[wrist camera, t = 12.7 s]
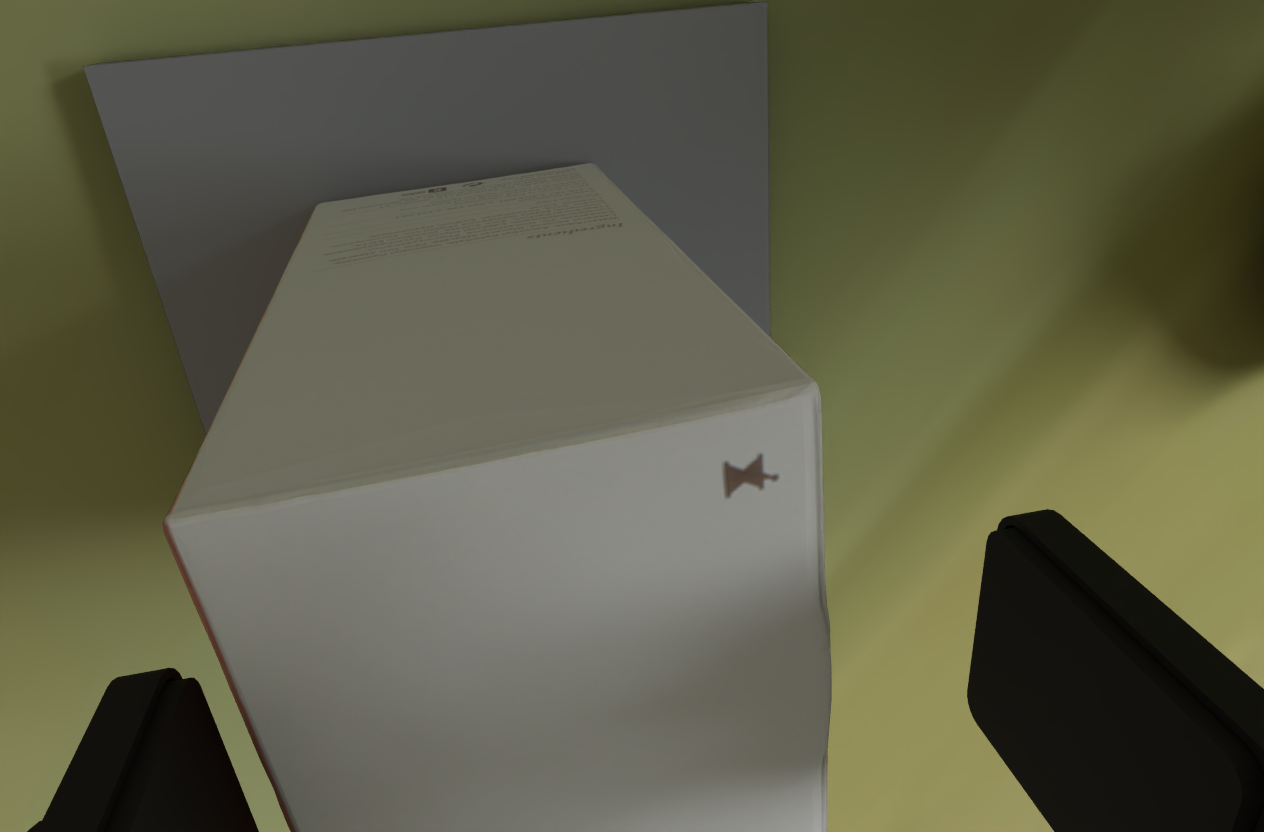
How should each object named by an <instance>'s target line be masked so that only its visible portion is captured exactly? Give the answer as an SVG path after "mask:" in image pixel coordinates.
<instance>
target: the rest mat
mask: <svg viewBox="0 0 1264 832" xmlns="http://www.w3.org/2000/svg"><path fill="white" fill-rule="evenodd" d="M83 68H84V71H85V74H86V77H87V80H88V83H89V86H90V89H91V92H92V95H93V98H94V101H95V104H96V107H97V110H98V113H99V116H100V119H101V122H102V125H103V128H104V131H105V134H106V137H107V140H108V143H109V146H110V149H111V152H112V155H113V158H114V161H115V164H116V167H117V170H118V172H119V175H120V178H121V181H122V184H123V187H124V190H125V193H126V196H127V199H128V202H129V205H130V208H131V211H132V214H133V217H134V220H135V223H136V226H137V229H138V232H139V235H140V238H141V241H142V244H143V247H144V250H145V253H146V256H147V259H148V262H149V265H150V268H151V271H152V274H153V277H154V280H155V283H156V286H157V289H158V292H159V295H160V298H161V301H162V304H163V307H164V310H165V313H166V316H167V319H168V322H169V325H170V328H171V331H172V334H173V337H174V340H175V343H176V346H177V349H178V352H179V355H180V358H181V361H182V364H183V367H184V370H185V373H186V376H187V379H188V382H189V385H190V388H191V391H192V394H193V397H194V400H195V403H196V406H197V409H198V412H199V415H200V418H201V421H202V424H203V427H204V430H205V433H206V435H207V432H208V430H209V428H210V426H211V424H212V422H213V420H214V418H215V416H216V414H217V412H218V410H219V408H220V406H221V404H222V402H223V400H224V397H225V395H226V393H227V391H228V389H229V387H230V384H231V382H232V380H233V378H234V376H235V373H236V371H237V369H238V367H239V365H240V363H241V361H242V359H243V357H244V354H245V352H246V350H247V348H248V346H249V344H250V342H251V340H252V338H253V336H254V334H255V331H256V329H257V327H258V325H259V323H260V321H261V318H262V316H263V315H264V313H265V311H266V309H267V307H268V305H269V303H270V301H271V299H272V297H273V295H274V292H275V290H276V288H277V286H278V284H279V282H280V280H281V278H282V276H283V274H284V271H285V269H286V267H287V265H288V263H289V261H290V259H291V257H292V255H293V253H294V251H295V249H296V247H297V245H298V242H299V240H300V238H301V236H302V234H303V232H304V230H305V227H306V225H307V223H308V221H309V219H310V217H311V215H312V213H313V211H314V209H315V207H316V206H317V205H318V204H320V203H324V202H331V201H338V200H345V199H352V198H359V197H365V196H372V195H378V194H386V193H393V192H400V191H408V190H415V189H422V188H429V187H435V186H442V185H449V184H456V183H463V182H471V181H477V180H483V179H490V178H496V177H503V176H509V175H515V174H522V173H530V172H536V171H543V170H549V169H554V168H562V167H569V166H574V165H581V164H587V163H593V164H595V165H596V166H597V167H598V168H599V169H600V170H601V171H602V172H603V173H604V174H605V175H606V176H607V177H608V178H609V179H610V180H611V181H612V182H613V183H614V184H615V185H616V186H617V187H618V188H619V189H620V190H621V191H622V192H623V193H624V194H625V195H626V196H627V197H628V198H629V199H630V200H631V201H632V202H633V203H634V204H635V205H636V206H637V207H638V208H639V209H640V210H641V211H642V212H643V213H644V214H645V215H646V216H647V217H648V218H649V219H650V220H651V221H652V222H653V223H654V224H655V225H656V226H657V227H658V228H659V229H660V230H661V231H662V232H663V233H664V234H665V235H666V236H667V237H669V238H670V239H671V240H672V241H673V242H674V243H675V244H676V245H677V246H678V247H679V248H680V249H681V250H682V251H683V252H684V253H685V254H686V255H687V256H688V257H689V258H690V259H691V260H692V261H693V262H694V263H695V264H696V265H697V266H698V267H699V268H700V269H701V270H702V271H703V272H704V273H705V274H706V275H707V276H708V277H709V278H710V279H711V280H712V281H713V282H714V283H715V284H716V285H717V286H718V287H719V288H720V289H721V290H722V291H723V292H724V293H725V294H726V295H727V296H729V297H730V298H731V299H732V300H733V301H734V302H735V303H736V304H737V305H738V306H739V307H740V308H741V309H742V310H743V311H744V312H745V313H746V314H747V315H748V316H749V317H750V318H751V319H752V320H753V321H754V322H755V323H756V324H757V325H758V326H759V327H760V328H761V329H762V330H763V331H764V332H765V333H766V334H767V335H768V336H769V337H770V237H769V122H768V7H767V2H748V3H738V4H727V5H716V6H706V7H695V8H684V9H673V10H663V11H652V12H641V13H631V14H620V15H609V16H599V17H588V18H577V19H566V20H556V21H545V22H534V23H524V24H513V25H502V26H492V27H481V28H470V29H459V30H449V31H438V32H427V33H417V34H406V35H395V36H384V37H374V38H363V39H352V40H342V41H331V42H320V43H310V44H299V45H288V46H277V47H267V48H256V49H245V50H235V51H224V52H213V53H203V54H192V55H181V56H170V57H160V58H149V59H138V60H128V61H117V62H106V63H98V64H92V65H87V66H83Z"/></svg>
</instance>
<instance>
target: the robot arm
mask: <svg viewBox="0 0 1264 832" xmlns="http://www.w3.org/2000/svg"><path fill="white" fill-rule="evenodd" d="M967 698H968V704H969V708H970V711H971V713H972V716H973V718H974V720H975V721H976V723H977V725H978V726H979V727H980V729H981V730H982V732H983V733H984V734H985V736H986V737H987V739H988V740H989V741H990V743H991V744H992V746H993V747H994V748H995V750H996V751H997V753H998V754H999V755H1000V757H1001V758H1002V759H1003V761H1004V762H1005V764H1006V765H1007V766H1008V768H1009V769H1010V771H1011V772H1012V773H1013V775H1014V776H1015V778H1016V779H1017V780H1018V782H1019V783H1020V784H1021V786H1022V787H1023V789H1024V790H1025V791H1026V793H1027V794H1028V796H1029V797H1030V798H1031V800H1032V801H1033V803H1034V804H1035V805H1036V807H1037V808H1038V810H1039V811H1040V812H1041V814H1042V815H1043V816H1044V818H1045V819H1046V821H1047V822H1048V823H1049V825H1050V826H1051V828H1052V829H1053V830H1054V832H1264V689H1263V688H1262V687H1261V686H1259V685H1258V684H1257V683H1256V682H1255V681H1254V680H1252V679H1251V678H1250V677H1249V676H1248V675H1247V674H1245V673H1244V672H1243V671H1242V670H1241V669H1240V668H1238V667H1237V666H1236V665H1235V664H1234V663H1233V662H1232V661H1230V660H1229V659H1228V658H1227V657H1226V656H1225V655H1223V654H1222V653H1221V652H1220V651H1219V650H1218V649H1216V648H1215V647H1214V646H1213V645H1212V644H1211V643H1209V642H1208V641H1207V640H1206V639H1205V638H1204V637H1202V636H1201V635H1200V634H1199V633H1198V632H1197V631H1195V630H1194V629H1193V628H1192V627H1191V626H1190V625H1188V624H1187V623H1186V622H1185V621H1184V620H1183V619H1181V618H1180V617H1179V616H1178V615H1177V614H1176V613H1174V612H1173V611H1172V610H1171V609H1170V608H1169V607H1167V606H1166V605H1165V604H1164V603H1163V602H1162V601H1160V600H1159V599H1158V598H1157V597H1156V596H1155V595H1153V594H1152V593H1151V592H1150V591H1149V590H1148V589H1147V588H1145V587H1144V586H1143V585H1142V584H1141V583H1140V582H1138V581H1137V580H1136V579H1135V578H1134V577H1133V576H1131V575H1130V574H1129V573H1128V572H1127V571H1126V570H1124V569H1123V568H1122V567H1121V566H1120V565H1119V564H1117V563H1116V562H1115V561H1114V560H1113V559H1112V558H1110V557H1109V556H1108V555H1107V554H1106V553H1105V552H1103V551H1102V550H1101V549H1100V548H1099V547H1098V546H1096V545H1095V544H1094V543H1093V542H1092V541H1091V540H1089V539H1088V538H1087V537H1086V536H1085V535H1084V534H1082V533H1081V532H1080V531H1079V530H1078V529H1077V528H1075V527H1074V526H1073V525H1072V524H1071V523H1070V522H1069V521H1067V520H1066V519H1065V518H1064V517H1063V516H1062V515H1060V514H1059V513H1057V512H1055V511H1054V510H1048V509H1046V510H1041V511H1035V512H1030V513H1024V514H1019V515H1013V516H1008V517H1005V518H1003V519H1002V520H1001V522H1000V523H999V525H998V529H997V531H993V532H991V533H990V535H989V536H988V539H987V544H986V551H985V559H984V567H983V574H982V582H981V590H980V597H979V605H978V613H977V621H976V628H975V636H974V644H973V651H972V659H971V667H970V674H969V682H968V690H967ZM28 832H259V831H258V828H257V826H256V823H255V821H254V818H253V816H252V813H251V811H250V808H249V806H248V803H247V801H246V798H245V796H244V793H243V791H242V788H241V786H240V783H239V781H238V778H237V776H236V773H235V771H234V768H233V766H232V763H231V761H230V758H229V756H228V753H227V751H226V748H225V746H224V743H223V741H222V738H221V736H220V733H219V731H218V728H217V726H216V723H215V721H214V718H213V716H212V713H211V711H210V708H209V706H208V703H207V701H206V698H205V696H204V693H203V691H202V688H201V686H200V684H199V682H198V681H197V680H196V679H195V678H186V679H182V677H181V675H180V673H179V672H178V671H177V670H175V669H174V668H166V669H161V670H155V671H150V672H144V673H139V674H133V675H127V676H122V677H117V678H116V679H114V680H112V681H111V683H110V684H109V686H108V687H107V689H106V691H105V693H104V695H103V697H102V699H101V701H100V703H99V705H98V707H97V710H96V712H95V714H94V716H93V718H92V720H91V722H90V724H89V726H88V728H87V730H86V732H85V734H84V736H83V738H82V740H81V742H80V744H79V746H78V748H77V750H76V753H75V755H74V757H73V759H72V761H71V763H70V765H69V767H68V769H67V771H66V773H65V775H64V777H63V779H62V781H61V783H60V785H59V787H58V789H57V791H56V794H55V796H54V798H53V800H52V802H51V804H50V806H49V808H48V810H47V812H46V814H45V816H44V818H43V820H42V821H39V822H38V823H37V824H36V825H34V826H33V827H32V828H31V829H29V830H28Z"/></svg>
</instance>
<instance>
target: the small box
mask: <svg viewBox="0 0 1264 832" xmlns="http://www.w3.org/2000/svg"><path fill="white" fill-rule="evenodd" d="M162 524H163V530H164V534H165V536H166V539H167V541H168V543H169V546H170V548H171V550H172V553H173V555H174V557H175V560H176V562H177V565H178V567H179V569H180V572H181V574H182V576H183V579H184V581H185V583H186V586H187V588H188V591H189V593H190V595H191V598H192V600H193V602H194V605H195V607H196V609H197V612H198V614H199V616H200V618H201V621H202V623H203V625H204V627H205V630H206V632H207V634H208V637H209V639H210V641H211V643H212V646H213V648H214V650H215V653H216V655H217V657H218V660H219V662H220V665H221V667H222V669H223V672H224V674H225V677H226V679H227V682H228V684H229V687H230V689H231V692H232V694H233V696H234V699H235V701H236V703H237V706H238V708H239V710H240V713H241V715H242V717H243V720H244V722H245V725H246V727H247V729H248V732H249V734H250V737H251V739H252V741H253V744H254V746H255V748H256V751H257V753H258V756H259V758H260V760H261V763H262V765H263V767H264V769H265V771H266V773H267V776H268V778H269V780H270V782H271V784H272V786H273V788H274V791H275V794H276V796H277V799H278V802H279V805H280V807H281V810H282V812H283V815H284V817H285V820H286V822H287V824H288V826H289V829H290V831H291V832H827V762H828V755H827V748H828V736H829V724H830V712H831V654H830V623H829V614H828V609H827V599H826V587H825V550H824V503H823V483H822V403H821V397H820V391H819V387H818V385H817V383H816V382H815V381H814V380H813V379H812V378H811V377H810V376H809V375H808V374H807V373H806V372H805V371H804V370H803V369H802V368H801V367H800V366H799V365H798V364H797V363H796V362H795V361H794V360H793V359H792V358H790V357H789V356H788V355H787V354H786V353H785V352H784V351H783V350H782V349H781V348H780V347H779V346H778V345H777V344H776V343H775V342H774V341H773V340H772V339H771V338H770V337H769V336H768V335H767V334H766V333H765V332H764V331H763V330H762V329H761V328H760V327H759V326H758V325H757V324H756V323H755V322H754V321H753V320H752V319H751V318H750V317H749V316H748V315H747V314H746V313H745V312H744V311H743V310H742V309H741V308H740V307H739V306H738V305H737V304H736V303H735V302H734V301H733V300H732V299H731V298H730V297H729V296H727V295H726V294H725V293H724V292H723V291H722V290H721V289H720V288H719V287H718V286H717V285H716V284H715V283H714V282H713V281H712V280H711V279H710V278H709V277H708V276H707V275H706V274H705V273H704V272H703V271H702V270H701V269H700V268H699V267H698V266H697V265H696V264H695V263H694V262H693V261H692V260H691V259H690V258H689V257H688V256H687V255H686V254H685V253H684V252H683V251H682V250H681V249H680V248H679V247H678V246H677V245H676V244H675V243H674V242H673V241H672V240H671V239H670V238H669V237H667V236H666V235H665V234H664V233H663V232H662V231H661V230H660V229H659V228H658V227H657V226H656V225H655V224H654V223H653V222H652V221H651V220H650V219H649V218H648V217H647V216H646V215H645V214H644V213H643V212H642V211H641V210H640V209H639V208H638V207H637V206H636V205H635V204H634V203H633V202H632V201H631V200H630V199H629V198H628V197H627V196H626V195H625V194H624V193H623V192H622V191H621V190H620V189H619V188H618V187H617V186H616V185H615V184H614V183H613V182H612V181H611V180H610V179H609V178H608V177H607V176H606V175H605V174H604V173H603V172H602V171H601V170H600V169H599V168H598V167H597V166H596V165H595V164H593V163H587V164H581V165H574V166H569V167H562V168H554V169H549V170H543V171H536V172H530V173H522V174H515V175H509V176H503V177H496V178H490V179H483V180H477V181H471V182H463V183H456V184H449V185H442V186H435V187H429V188H422V189H415V190H408V191H400V192H393V193H386V194H378V195H372V196H365V197H359V198H352V199H345V200H338V201H331V202H324V203H320V204H318V205H317V206H316V207H315V209H314V211H313V213H312V215H311V217H310V219H309V221H308V223H307V225H306V227H305V230H304V232H303V234H302V236H301V238H300V240H299V242H298V245H297V247H296V249H295V251H294V253H293V255H292V257H291V259H290V261H289V263H288V265H287V267H286V269H285V271H284V274H283V276H282V278H281V280H280V282H279V284H278V286H277V288H276V290H275V292H274V295H273V297H272V299H271V301H270V303H269V305H268V307H267V309H266V311H265V313H264V315H263V316H262V318H261V321H260V323H259V325H258V327H257V329H256V331H255V334H254V336H253V338H252V340H251V342H250V344H249V346H248V348H247V350H246V352H245V354H244V357H243V359H242V361H241V363H240V365H239V367H238V369H237V371H236V373H235V376H234V378H233V380H232V382H231V384H230V387H229V389H228V391H227V393H226V395H225V397H224V400H223V402H222V404H221V406H220V408H219V410H218V412H217V414H216V416H215V418H214V420H213V422H212V424H211V426H210V428H209V430H208V432H207V435H206V437H205V439H204V441H203V443H202V445H201V447H200V449H199V451H198V453H197V455H196V457H195V459H194V461H193V463H192V466H191V468H190V470H189V472H188V474H187V476H186V478H185V480H184V482H183V484H182V486H181V488H180V490H179V492H178V494H177V496H176V498H175V500H174V502H173V504H172V506H171V508H170V510H169V512H168V514H167V516H166V517H165V519H164V521H163V523H162Z"/></svg>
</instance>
